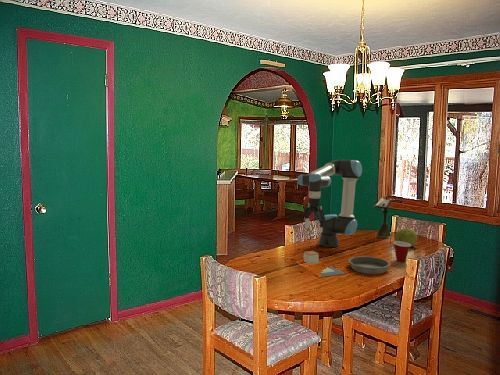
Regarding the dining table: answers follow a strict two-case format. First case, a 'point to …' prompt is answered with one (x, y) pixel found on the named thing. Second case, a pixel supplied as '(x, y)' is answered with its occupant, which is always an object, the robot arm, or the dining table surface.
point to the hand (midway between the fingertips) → (313, 230)
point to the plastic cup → (401, 250)
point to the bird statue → (384, 229)
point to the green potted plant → (406, 236)
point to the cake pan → (369, 264)
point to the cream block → (311, 257)
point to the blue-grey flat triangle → (331, 272)
